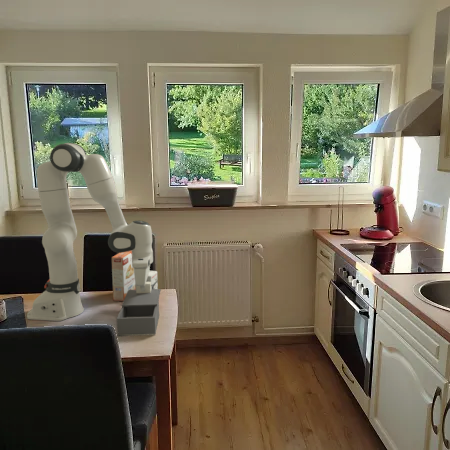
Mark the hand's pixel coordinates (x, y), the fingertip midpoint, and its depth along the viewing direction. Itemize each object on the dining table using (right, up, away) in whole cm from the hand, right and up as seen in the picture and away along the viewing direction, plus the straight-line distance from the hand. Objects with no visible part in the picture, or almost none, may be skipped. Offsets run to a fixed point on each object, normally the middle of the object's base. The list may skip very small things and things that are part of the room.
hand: (143, 289), depth 179 cm
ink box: (0, -6, +16) cm, 18 cm away
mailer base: (+1, -12, -15) cm, 19 cm away
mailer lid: (+1, -3, -6) cm, 6 cm away
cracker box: (-12, -6, +18) cm, 22 cm away
